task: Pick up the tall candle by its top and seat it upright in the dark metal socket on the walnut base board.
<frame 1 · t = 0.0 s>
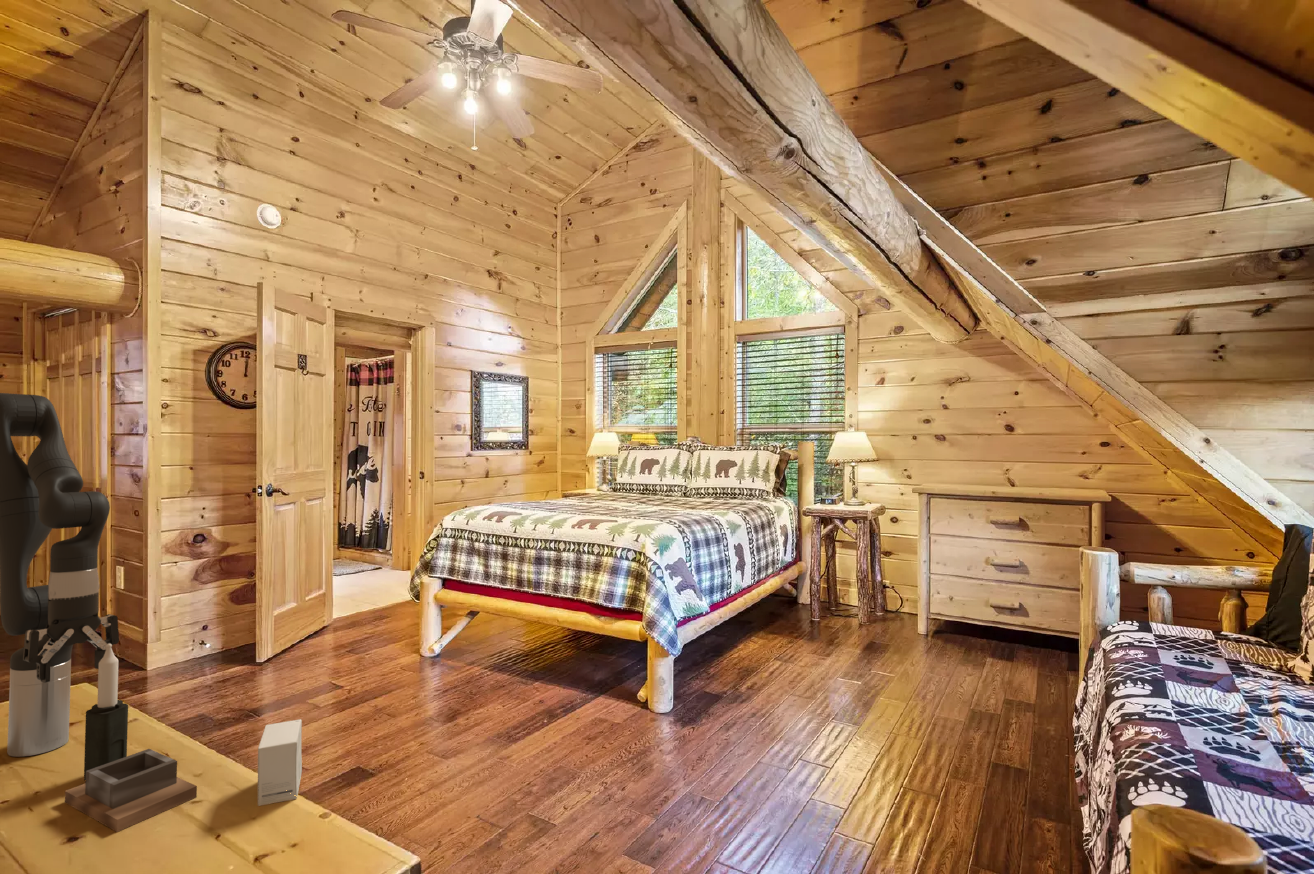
hand: (72, 674, 129), 17 cm above the table, tool pointing down, fingers open, 8 cm apart
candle: (105, 775, 124), on the table
socket board: (131, 799, 116), on the table
skincare box: (279, 789, 121), on the table
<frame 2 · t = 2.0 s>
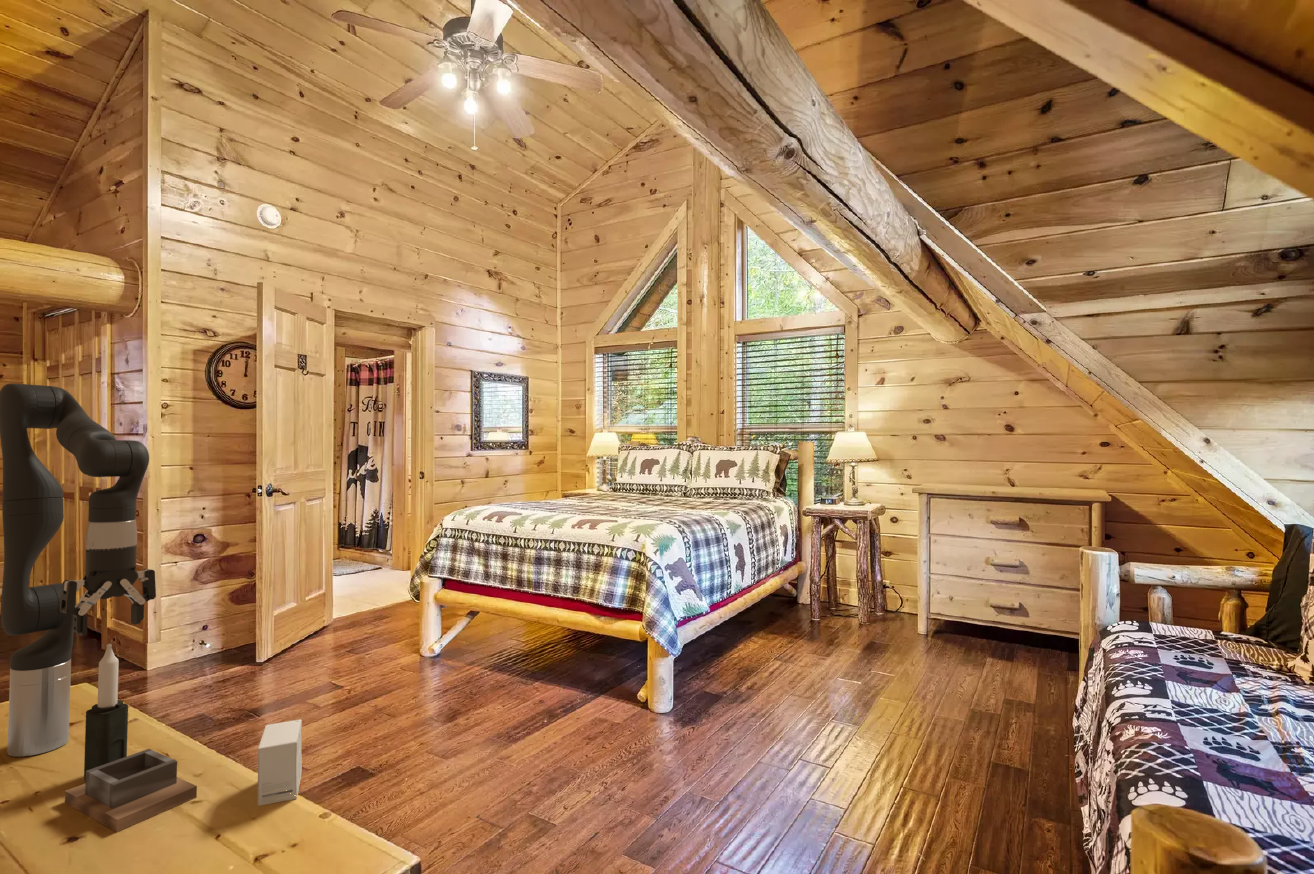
hand: (109, 628, 124), 28 cm above the table, tool pointing down, fingers open, 8 cm apart
nothing on the table moved.
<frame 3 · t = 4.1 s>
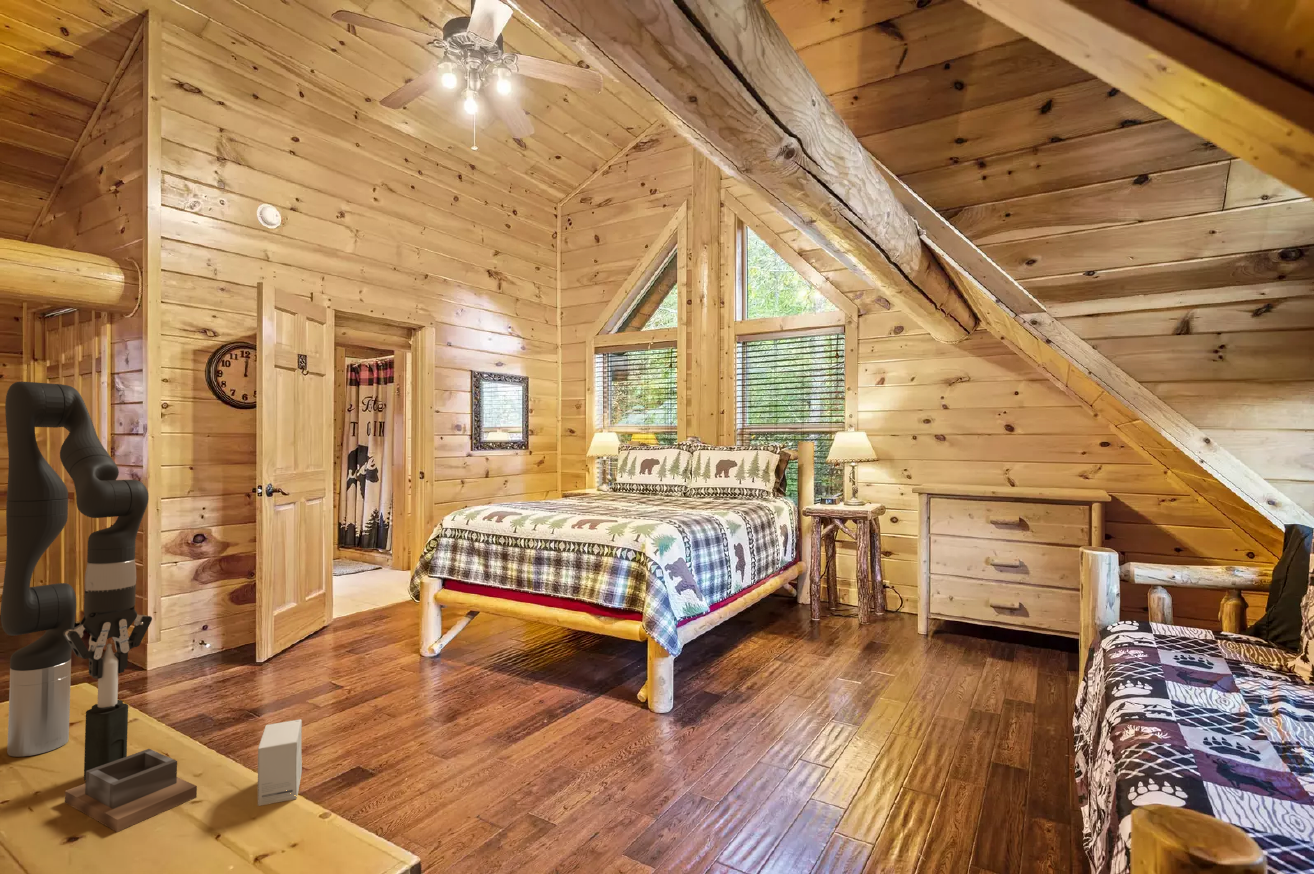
hand: (108, 674, 124), 19 cm above the table, tool pointing down, fingers closed on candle, 3 cm apart
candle: (105, 775, 124), on the table, touching gripper
everything else where it was.
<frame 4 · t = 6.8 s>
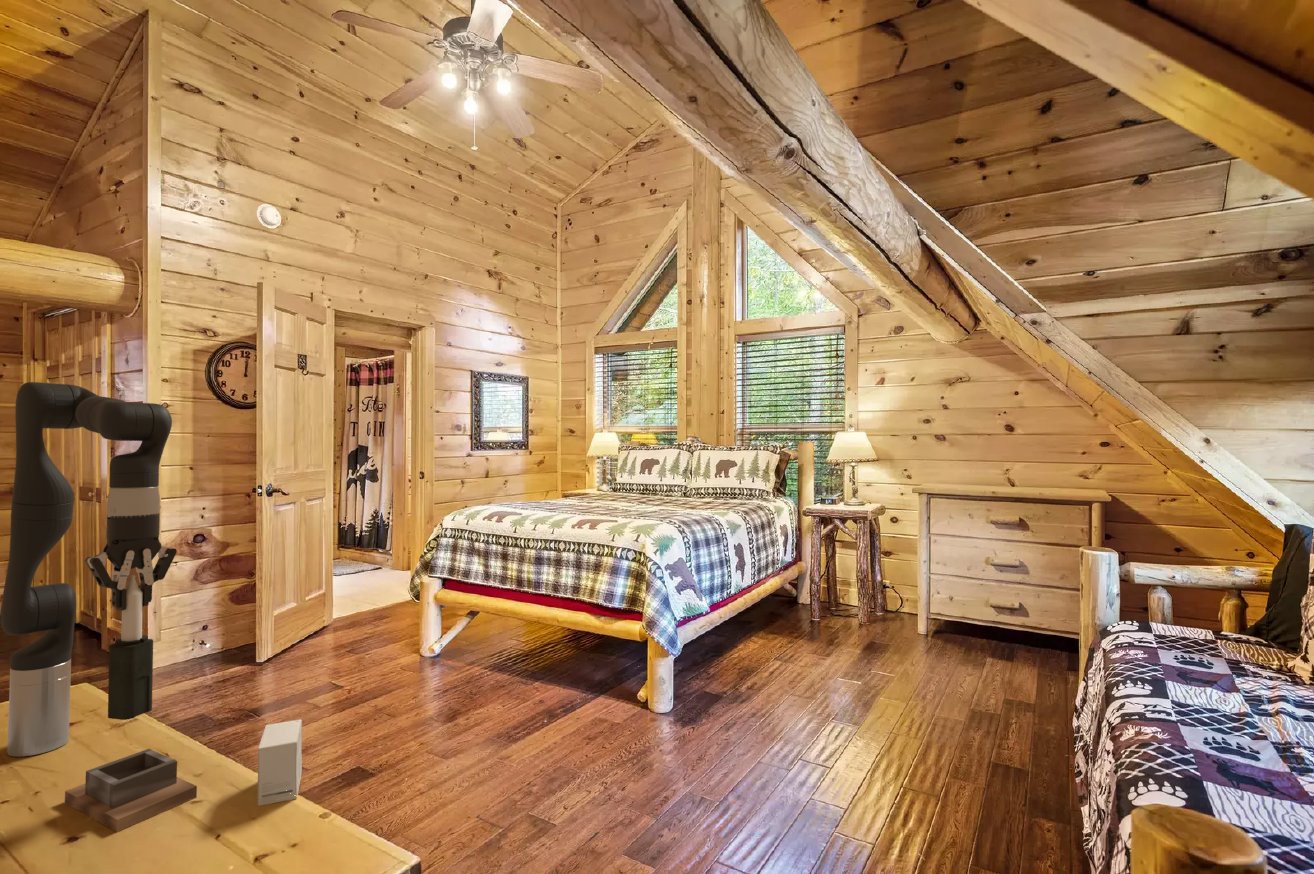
hand: (131, 607, 118), 34 cm above the table, tool pointing down, fingers closed on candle, 3 cm apart
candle: (130, 714, 117), point 15 cm above the table, touching gripper
everything else where it was.
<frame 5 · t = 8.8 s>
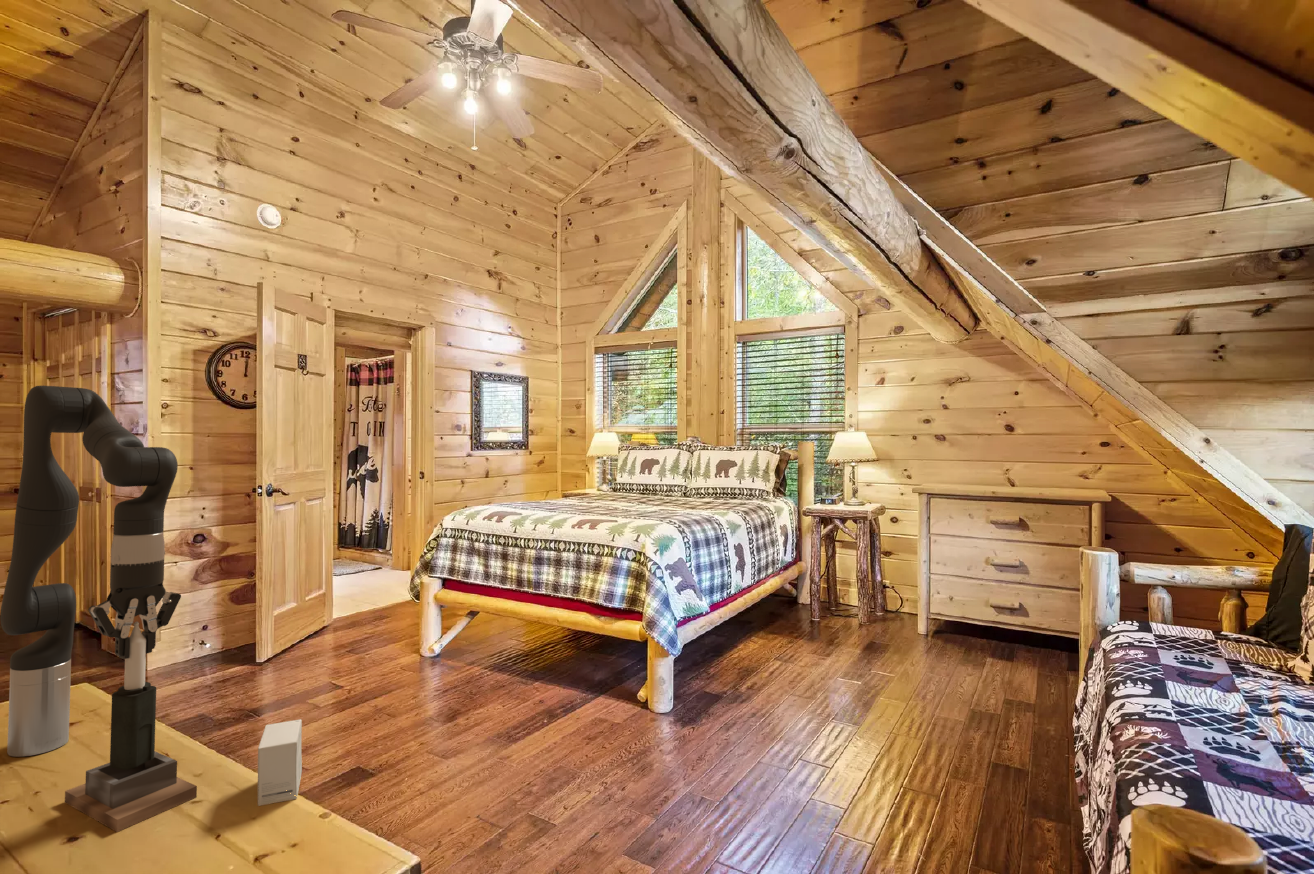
hand: (135, 654, 116), 26 cm above the table, tool pointing down, fingers closed on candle, 3 cm apart
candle: (132, 762, 116), point 6 cm above the table, touching gripper
everything else where it was.
when the fingers open (22 cm above the table, at t = 10.0 s): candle stays where it is, resting on socket board.
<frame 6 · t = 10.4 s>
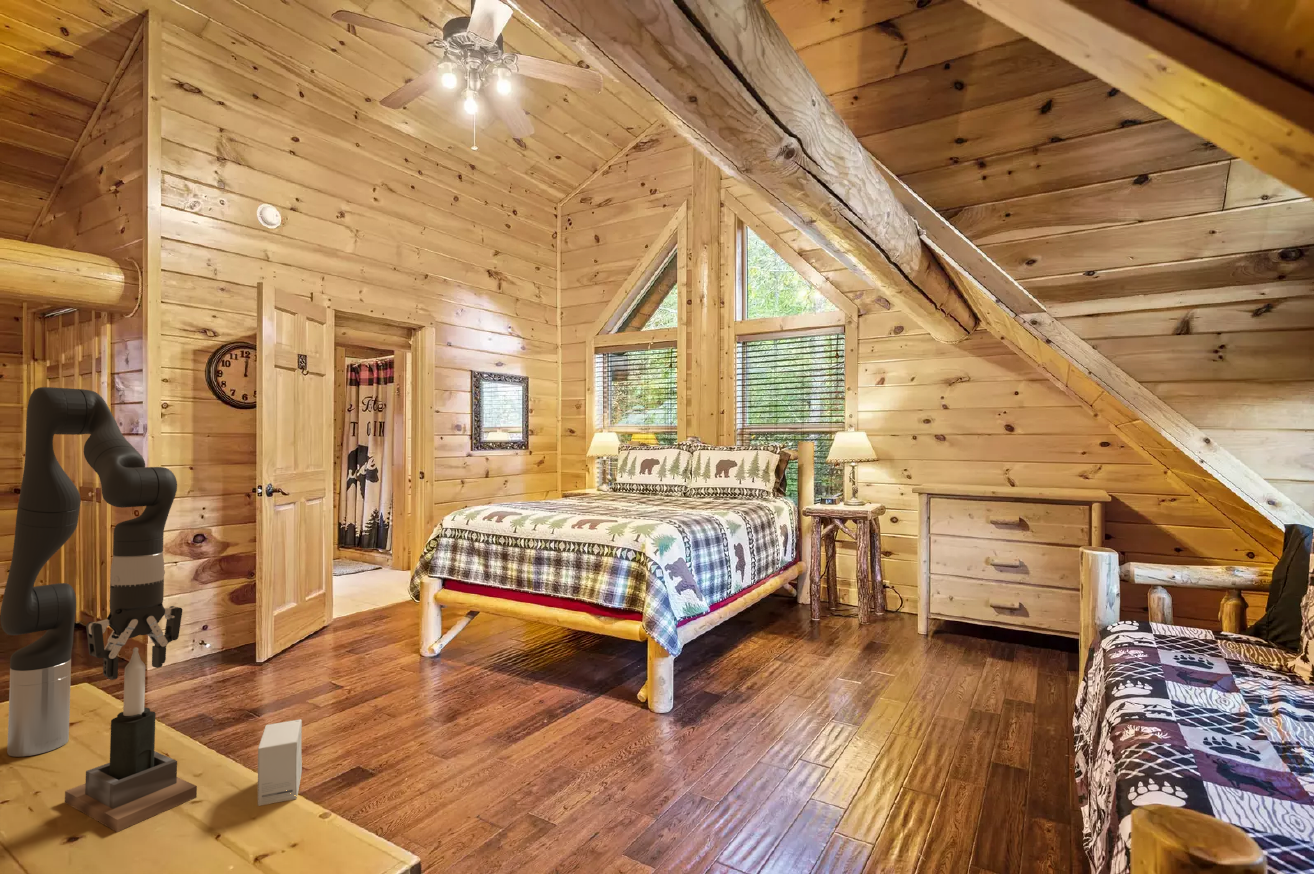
hand: (135, 672, 116), 23 cm above the table, tool pointing down, fingers open, 6 cm apart
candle: (131, 789, 116), point 2 cm above the table, touching socket board
everything else where it was.
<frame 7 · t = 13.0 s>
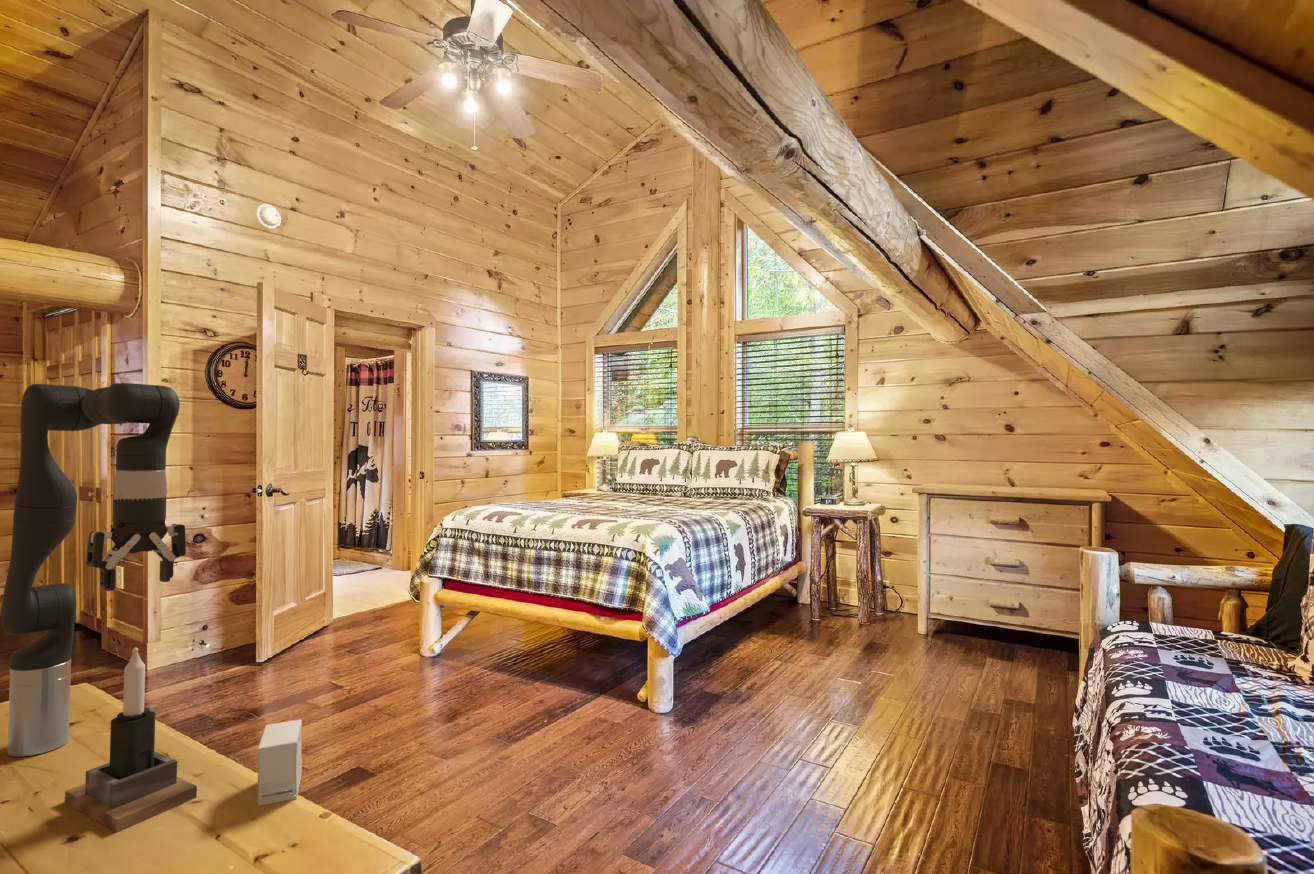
hand: (137, 585, 116), 38 cm above the table, tool pointing down, fingers open, 8 cm apart
nothing on the table moved.
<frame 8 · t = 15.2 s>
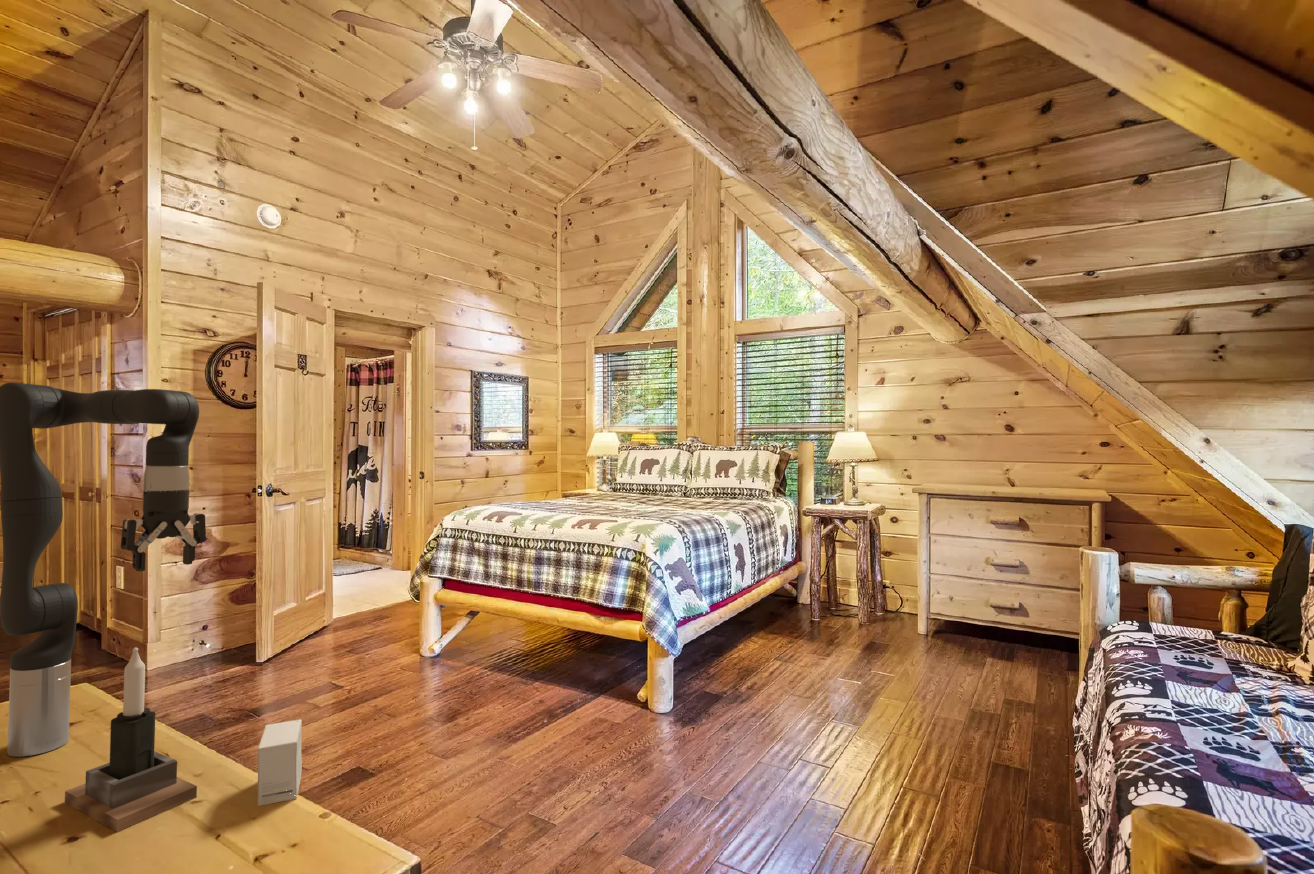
hand: (164, 567, 132), 38 cm above the table, tool pointing down, fingers open, 8 cm apart
nothing on the table moved.
at the end: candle 0.1 cm off-centre on the socket board, point 1.8 cm above the socket board's base; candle tilted 0°; the gripper is holding nothing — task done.
